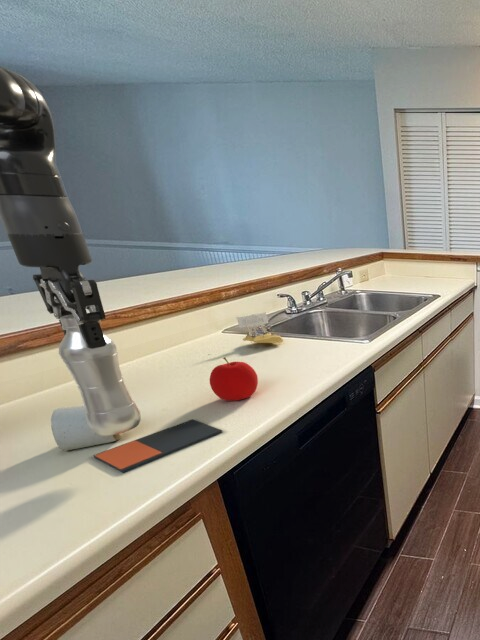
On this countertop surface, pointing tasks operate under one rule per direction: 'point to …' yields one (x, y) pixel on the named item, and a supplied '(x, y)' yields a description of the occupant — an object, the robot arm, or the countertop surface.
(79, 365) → the plastic bottle
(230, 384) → the fruit
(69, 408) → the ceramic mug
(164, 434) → the mat
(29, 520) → the countertop surface
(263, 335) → the model sailing ship
